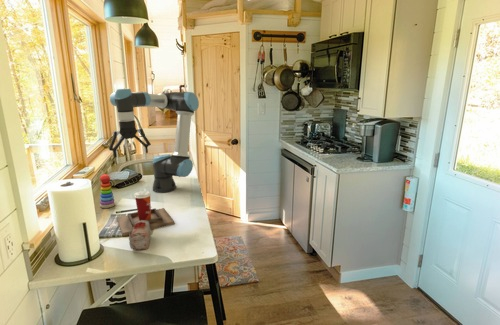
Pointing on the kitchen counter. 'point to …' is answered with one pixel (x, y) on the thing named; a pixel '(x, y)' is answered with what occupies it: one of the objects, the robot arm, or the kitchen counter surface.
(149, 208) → the paper cup
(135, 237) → the food item
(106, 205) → the stacking toy
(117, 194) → the kitchen counter surface
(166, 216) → the assembly base
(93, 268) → the kitchen counter surface
